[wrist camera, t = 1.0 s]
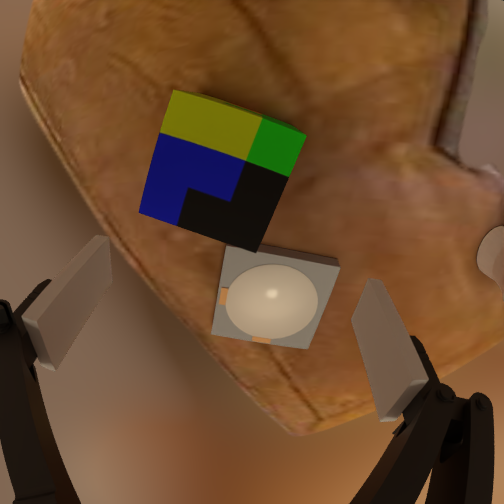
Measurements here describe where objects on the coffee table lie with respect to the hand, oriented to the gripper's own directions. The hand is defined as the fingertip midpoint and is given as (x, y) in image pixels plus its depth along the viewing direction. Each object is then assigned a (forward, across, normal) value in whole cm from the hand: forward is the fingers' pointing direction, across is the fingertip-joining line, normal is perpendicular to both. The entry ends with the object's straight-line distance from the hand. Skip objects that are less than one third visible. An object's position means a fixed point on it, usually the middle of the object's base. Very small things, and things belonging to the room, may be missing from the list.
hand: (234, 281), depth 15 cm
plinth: (+19, +5, -14) cm, 24 cm away
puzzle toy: (+20, -3, +2) cm, 20 cm away
